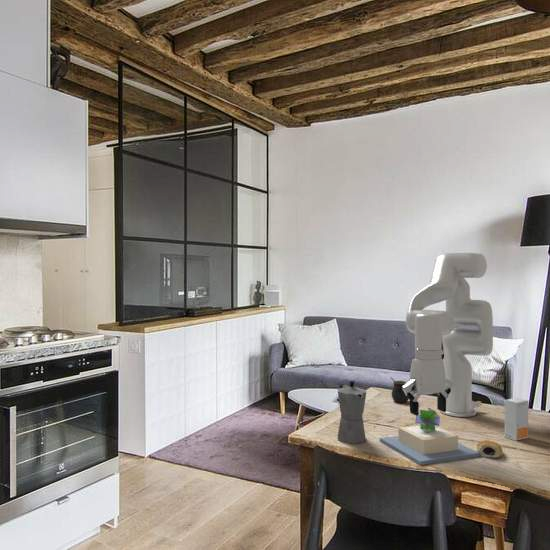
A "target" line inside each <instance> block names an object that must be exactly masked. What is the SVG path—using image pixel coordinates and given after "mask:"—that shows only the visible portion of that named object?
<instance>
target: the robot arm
mask: <svg viewBox="0 0 550 550" xmlns="http://www.w3.org/2000/svg"><path fill="white" fill-rule="evenodd" d="M487 265H488V264H487V259H486V257H485V255H483V254H482V253H475V252H449V253H448V252H447V253H442V254H440V255H437V257H436V258H435V260H434V266H433V270H432V273H431V278H430V281H429V284H428V285H426V286H425V287H423V288H422V289H421V290H420V291H418V292H417V293H416V294H415V295H414V296H413V297H412V298H411V300H410V302H409V306H408V309H407V312H406V317H405V326H406V328H407V330H408V331H409V332H410V333H412V334H414V358H413V359H412V360H411V364H410V368H409V370H410V371H409V378H408V379H409V381H407V384H405V385H404V386H402V389H403V391H404V393H405V395H406V397H407V398H408V399H409V400H408V401H409V411H410V414H412V415H414V416H415V417H416V416H417V415H420V412H419V411H420V408H419V407H420V406H419V404H420V403H419V401H418V400H419V398H420V397H421V396H425V395H433V394H435V395H436V394H437V398H436V399H437V401H436V403H437V405H436V406H437V407H436V409H437V410H438V411H440V412H441V413H442V414H443V415H447V416H450V417H456V418H457V417H459V418H472V417H474V416H476V415H477V411H476V410H475V408H476V407H477V408H478V407H479V408H480V407H482V405H483V404H482V401H480V400H479V401H474V400H472V399H473V398H472V397H473V396H472V394H473V393H472V391H473V390H472V389H473V388H472V386H473V385H472V384H473V383H472V380H473V379H472V378H473V377H472V373H473V372H472V371H473V369H472V365H471V362H470V361H469V359H468V357H466V356H467V355H469V356H482V357H486V356H489V355H491V354H492V351H493V349H494V348H493V347H494V335H493V334H494V332H493V331H494V330H493V329H494V327H493V326H494V325H493V323H494V321H493V317H494V315H493V309H492V305H491V303H490V302H488V301H487V300H483V299H471V287H470V284H469V282H468V281H467V278H468V279H473V278H474V279H478V278H482V277H483V276H485V274H486V272H487V269H488V268H487V267H488V266H487ZM444 301H445V310H432V309H425V308H427V307H429V306H432V305H435V304H438V303H439V304H440V303H441V302H444ZM455 325H456V326H457V325H458V326H471V327H472V326H473V327H477V329H475V328H463V327H460V328H459V327H455ZM442 355H444V356H443V357H444V358H442ZM465 355H466V356H465Z"/></svg>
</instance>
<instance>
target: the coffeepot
mask: <svg viewBox="0 0 550 550" xmlns="http://www.w3.org/2000/svg"><path fill="white" fill-rule="evenodd" d="M348 382H349V386H348V385H345V384H344V383H341V384H340V385H339V388H338V389H337V396H338V404H339V411H340V419H339V424H338V425H339V426H338V431H337V440H338V441H340V442H342V443H345V444H346V443H347V444H361V443H364V442H366V441H367V440H366V439H367V438H366V431H365V425H364V420H363V414H364V410H365V406H366V397H367V391H366V389H364V388H359V387H355V386H354V385H355V381H354V380H350V381H348Z"/></svg>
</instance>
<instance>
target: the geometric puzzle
mask: <svg viewBox="0 0 550 550" xmlns="http://www.w3.org/2000/svg"><path fill="white" fill-rule="evenodd" d="M440 422H441V417H440V414H438V412H437V411H436V410H434V409H432V408H430V407H427V410H426V409H419V415H417V416H416V415H415V422H414V424H415V426H418V425H420V427H421V428H420V427H419V426H418V427H419V428H420V429H427V430H431V431H432V430H435V426H436V428H437V427H440ZM424 432H425V431H424ZM429 432H430V431H429Z"/></svg>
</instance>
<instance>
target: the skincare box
mask: <svg viewBox="0 0 550 550" xmlns="http://www.w3.org/2000/svg"><path fill="white" fill-rule="evenodd" d="M504 438H507V439H510V440H513V441H515V442H516V441H521V440H525V439H528V438H529V400H527V399H524V398H519V397H514V398H508V399H505V400H504Z"/></svg>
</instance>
